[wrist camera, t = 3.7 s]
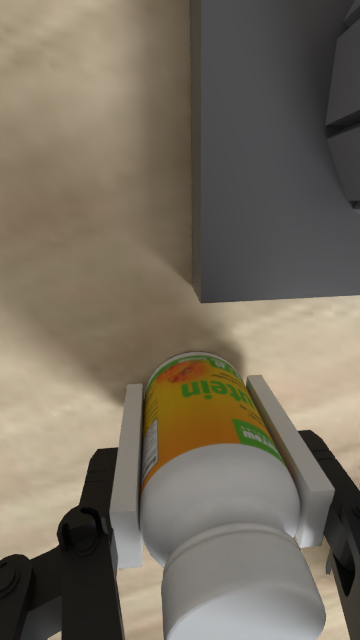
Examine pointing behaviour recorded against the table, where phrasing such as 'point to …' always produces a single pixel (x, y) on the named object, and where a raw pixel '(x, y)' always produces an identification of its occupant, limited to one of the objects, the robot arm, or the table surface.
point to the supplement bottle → (221, 510)
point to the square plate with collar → (275, 149)
